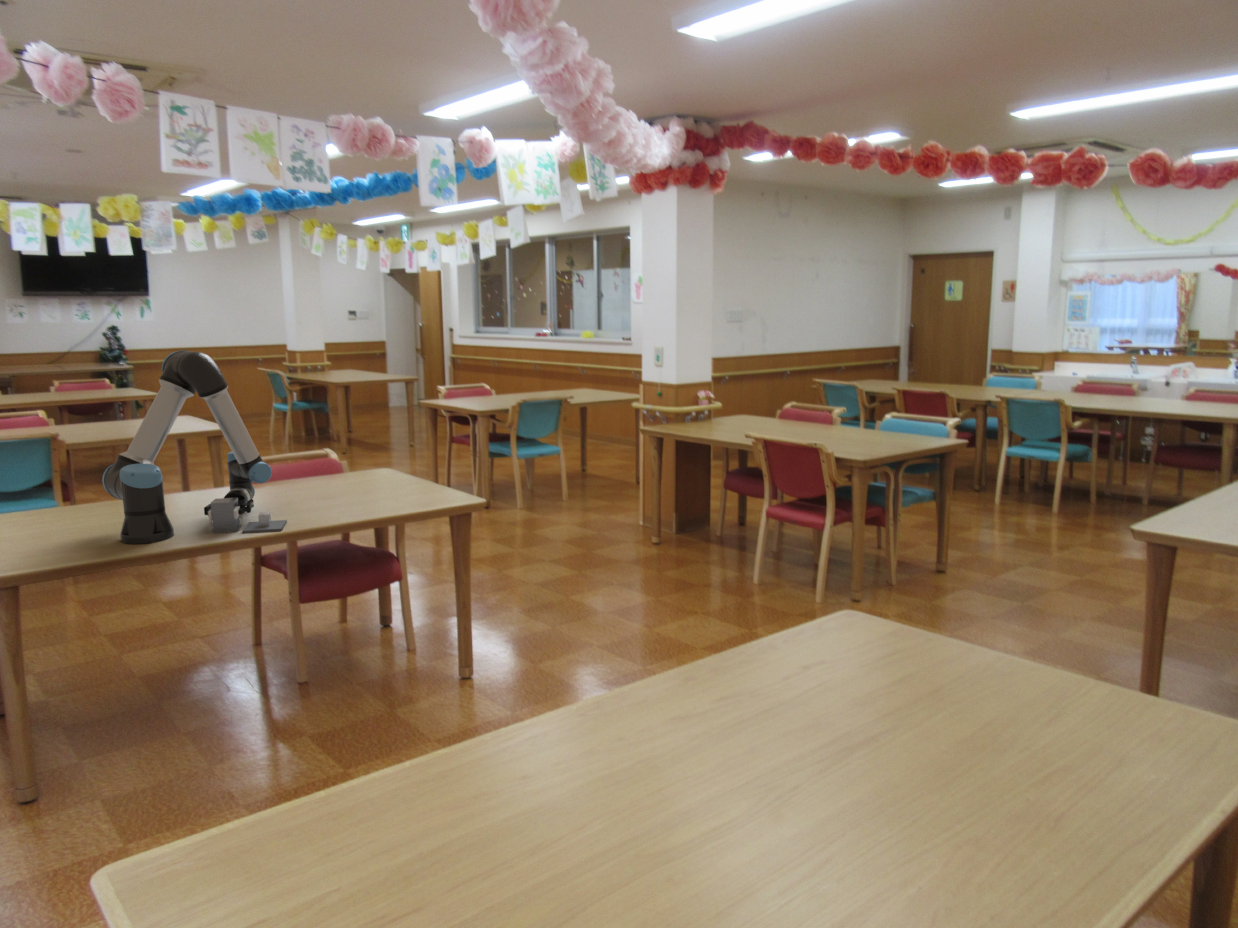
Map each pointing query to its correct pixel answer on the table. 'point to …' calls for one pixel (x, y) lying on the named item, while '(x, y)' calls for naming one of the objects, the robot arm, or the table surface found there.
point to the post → (264, 519)
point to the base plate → (265, 527)
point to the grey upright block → (224, 515)
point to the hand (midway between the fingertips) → (222, 515)
